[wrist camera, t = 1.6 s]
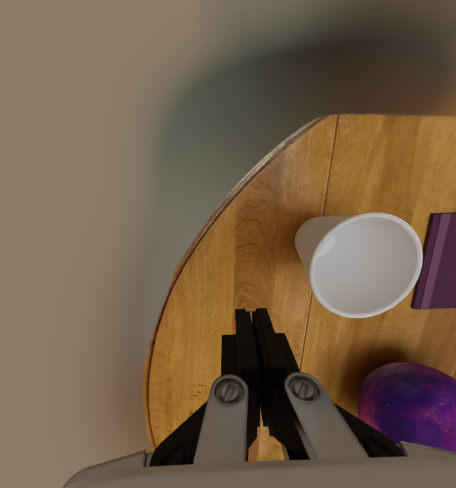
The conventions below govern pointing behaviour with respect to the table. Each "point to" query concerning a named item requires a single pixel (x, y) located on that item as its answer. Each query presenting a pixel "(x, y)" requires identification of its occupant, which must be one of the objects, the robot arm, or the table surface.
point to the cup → (359, 261)
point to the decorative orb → (410, 404)
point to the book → (438, 265)
